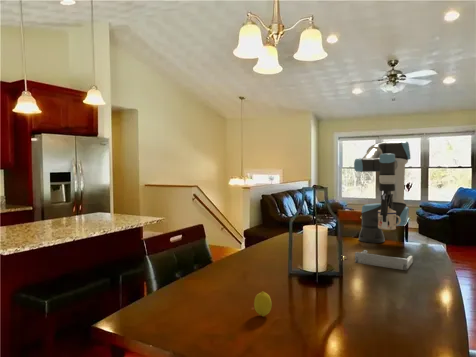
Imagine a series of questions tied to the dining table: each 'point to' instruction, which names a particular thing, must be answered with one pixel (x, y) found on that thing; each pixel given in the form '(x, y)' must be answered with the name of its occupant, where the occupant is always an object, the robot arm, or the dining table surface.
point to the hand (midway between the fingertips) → (387, 227)
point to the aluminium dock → (383, 260)
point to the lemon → (262, 303)
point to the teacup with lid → (389, 219)
